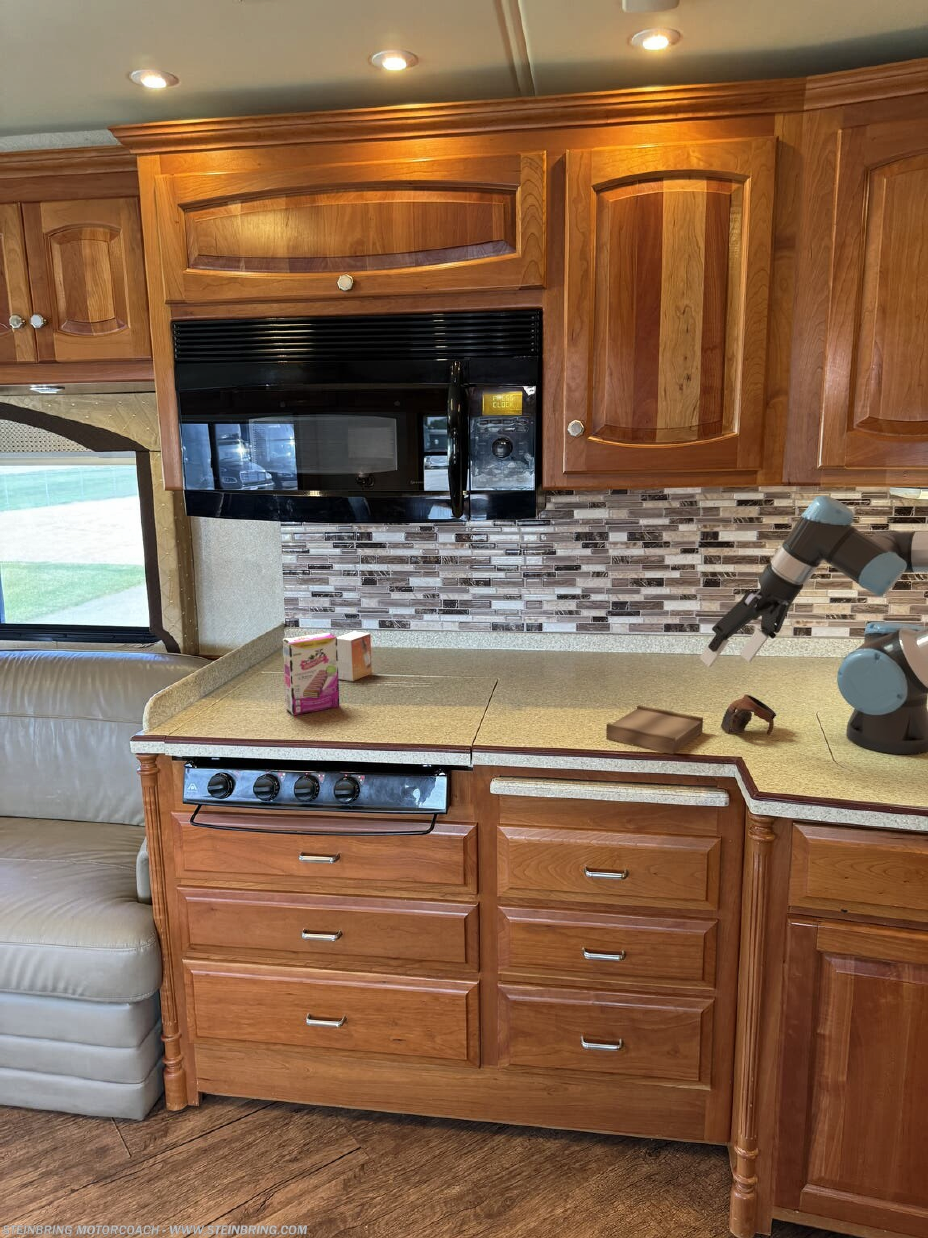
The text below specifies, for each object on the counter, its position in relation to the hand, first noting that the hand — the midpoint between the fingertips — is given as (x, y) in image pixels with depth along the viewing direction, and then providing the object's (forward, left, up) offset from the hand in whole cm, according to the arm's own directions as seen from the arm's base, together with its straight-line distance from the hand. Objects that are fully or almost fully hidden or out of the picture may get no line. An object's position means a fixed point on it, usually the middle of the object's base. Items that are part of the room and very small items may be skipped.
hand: (725, 660), depth 172 cm
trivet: (+10, +10, -15) cm, 20 cm away
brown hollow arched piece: (-4, -2, -15) cm, 16 cm away
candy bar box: (+79, +37, -15) cm, 88 cm away
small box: (+89, +14, -15) cm, 91 cm away
